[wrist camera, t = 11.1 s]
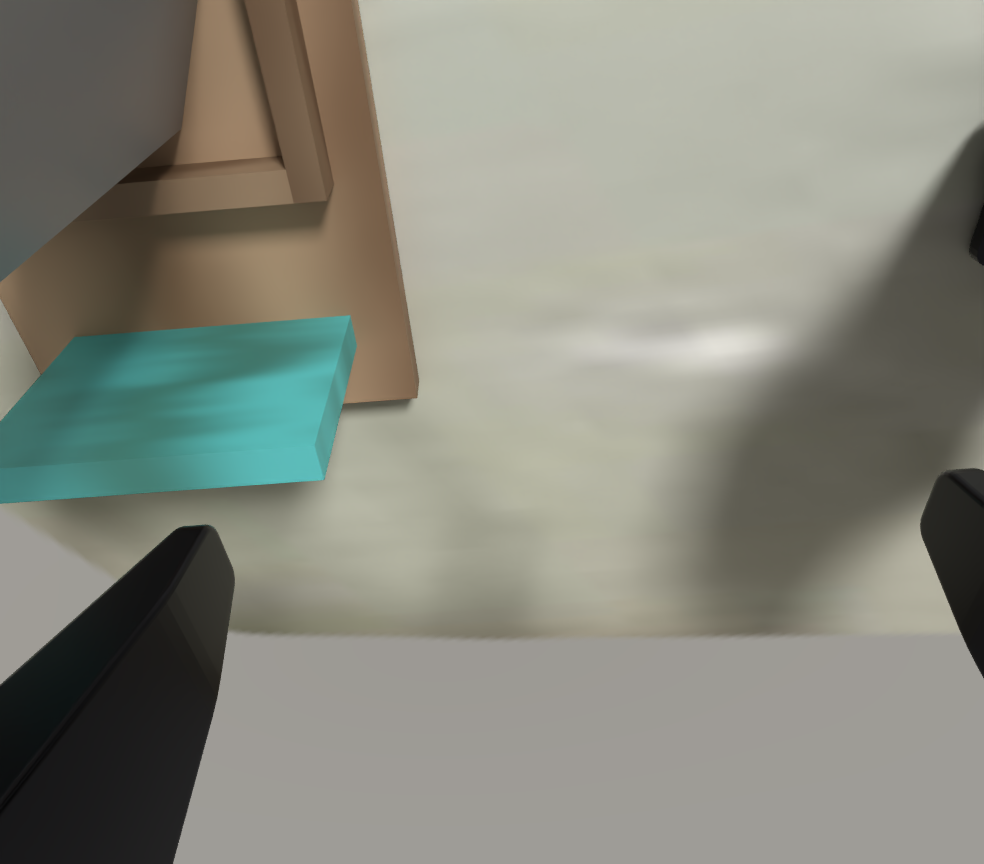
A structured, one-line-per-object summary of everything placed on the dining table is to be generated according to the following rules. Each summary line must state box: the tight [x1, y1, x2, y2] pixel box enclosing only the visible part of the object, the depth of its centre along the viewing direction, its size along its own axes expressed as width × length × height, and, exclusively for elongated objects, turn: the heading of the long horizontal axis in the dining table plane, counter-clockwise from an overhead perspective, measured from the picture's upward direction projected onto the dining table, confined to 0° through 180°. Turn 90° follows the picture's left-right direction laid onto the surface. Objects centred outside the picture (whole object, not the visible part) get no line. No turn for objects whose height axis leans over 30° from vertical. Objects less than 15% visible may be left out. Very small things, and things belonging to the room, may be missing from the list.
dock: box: [0, 0, 419, 504], centre depth 15 cm, size 11×18×7 cm, turn 4°
